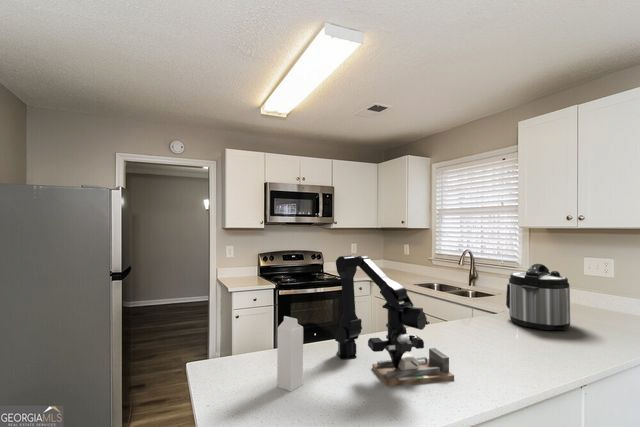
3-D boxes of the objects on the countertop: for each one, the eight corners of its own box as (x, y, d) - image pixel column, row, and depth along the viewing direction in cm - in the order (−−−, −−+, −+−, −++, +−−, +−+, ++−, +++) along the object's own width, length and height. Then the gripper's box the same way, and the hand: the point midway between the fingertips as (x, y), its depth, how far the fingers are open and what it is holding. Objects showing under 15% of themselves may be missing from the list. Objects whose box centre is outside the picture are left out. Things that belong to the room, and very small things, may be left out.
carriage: (409, 377, 111) (409, 365, 111) (397, 365, 120) (397, 354, 120) (434, 375, 113) (434, 363, 113) (420, 363, 122) (420, 352, 122)
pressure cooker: (541, 315, 193) (540, 260, 194) (587, 331, 166) (586, 266, 166) (494, 317, 189) (493, 261, 190) (533, 334, 161) (533, 267, 162)
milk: (289, 379, 113) (289, 313, 114) (303, 384, 110) (303, 316, 110) (276, 386, 108) (277, 317, 109) (290, 392, 105) (291, 321, 105)
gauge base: (387, 386, 108) (387, 366, 109) (372, 368, 122) (372, 350, 122) (454, 379, 113) (454, 360, 114) (432, 362, 127) (432, 345, 127)
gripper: (379, 331, 107) (379, 381, 107) (432, 328, 111) (432, 376, 111) (367, 321, 118) (367, 366, 118) (416, 318, 122) (416, 362, 121)
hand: (395, 367), depth 117 cm, fingers closed
